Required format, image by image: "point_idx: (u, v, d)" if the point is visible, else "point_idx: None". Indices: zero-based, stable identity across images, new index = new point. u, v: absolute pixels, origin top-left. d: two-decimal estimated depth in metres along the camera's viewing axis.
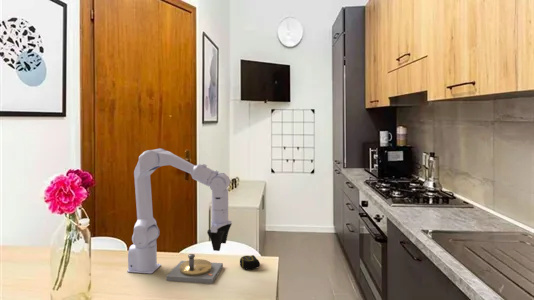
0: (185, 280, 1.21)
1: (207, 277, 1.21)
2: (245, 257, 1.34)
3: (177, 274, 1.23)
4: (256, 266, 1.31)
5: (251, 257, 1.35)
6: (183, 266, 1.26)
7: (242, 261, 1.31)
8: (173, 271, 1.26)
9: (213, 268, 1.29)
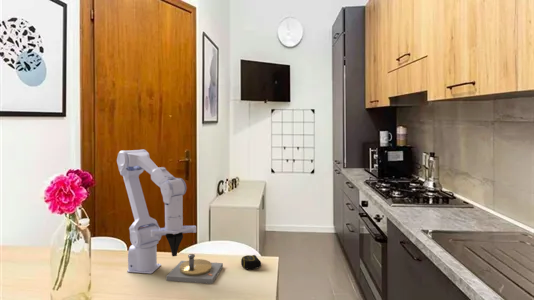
0: (185, 280, 1.21)
1: (207, 277, 1.21)
2: (246, 257, 1.34)
3: (177, 274, 1.23)
4: (257, 266, 1.31)
5: (252, 257, 1.35)
6: (183, 266, 1.26)
7: (244, 260, 1.31)
8: (173, 271, 1.26)
9: (213, 268, 1.29)
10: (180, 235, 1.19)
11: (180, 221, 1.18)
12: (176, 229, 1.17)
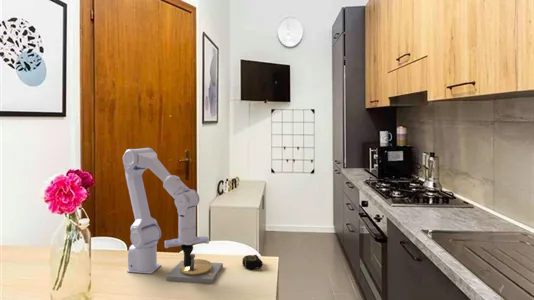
0: (185, 280, 1.21)
1: (207, 277, 1.21)
2: (248, 257, 1.35)
3: (177, 274, 1.23)
4: (259, 266, 1.32)
5: (254, 257, 1.35)
6: (183, 267, 1.26)
7: (245, 260, 1.32)
8: (173, 271, 1.26)
9: (213, 268, 1.29)
10: None
11: (193, 232, 1.20)
12: (189, 240, 1.19)
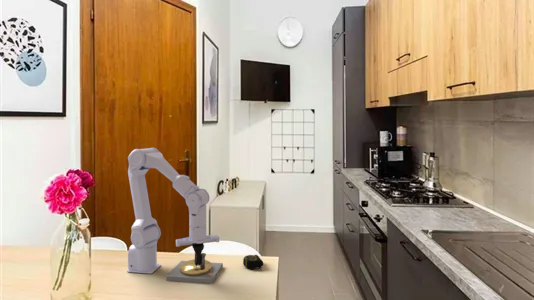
0: (185, 280, 1.21)
1: (207, 277, 1.21)
2: (248, 256, 1.35)
3: (177, 274, 1.23)
4: (259, 265, 1.32)
5: (254, 256, 1.35)
6: (189, 269, 1.23)
7: (246, 260, 1.32)
8: (173, 271, 1.26)
9: (213, 268, 1.29)
10: None
11: (204, 231, 1.21)
12: (200, 239, 1.20)
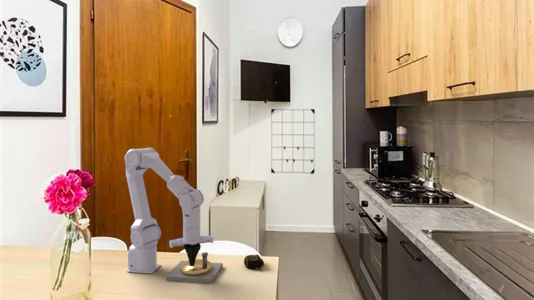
0: (185, 280, 1.21)
1: (207, 277, 1.21)
2: (249, 256, 1.35)
3: (177, 274, 1.23)
4: (260, 265, 1.32)
5: (255, 256, 1.35)
6: (192, 270, 1.23)
7: (247, 260, 1.32)
8: (173, 271, 1.26)
9: (213, 268, 1.29)
10: (198, 245, 1.21)
11: (198, 232, 1.21)
12: (194, 240, 1.20)
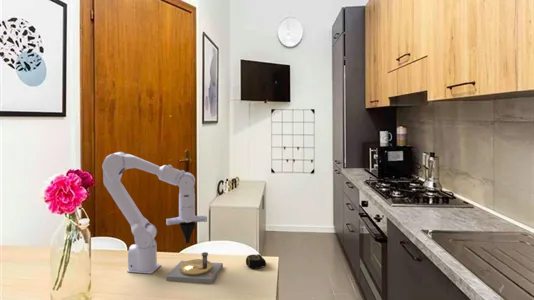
0: (185, 280, 1.21)
1: (207, 277, 1.21)
2: (251, 256, 1.35)
3: (177, 274, 1.23)
4: (262, 265, 1.32)
5: (257, 256, 1.36)
6: (192, 270, 1.23)
7: (249, 260, 1.32)
8: (173, 271, 1.26)
9: (213, 268, 1.29)
10: (192, 224, 1.31)
11: (193, 211, 1.30)
12: (189, 218, 1.29)
